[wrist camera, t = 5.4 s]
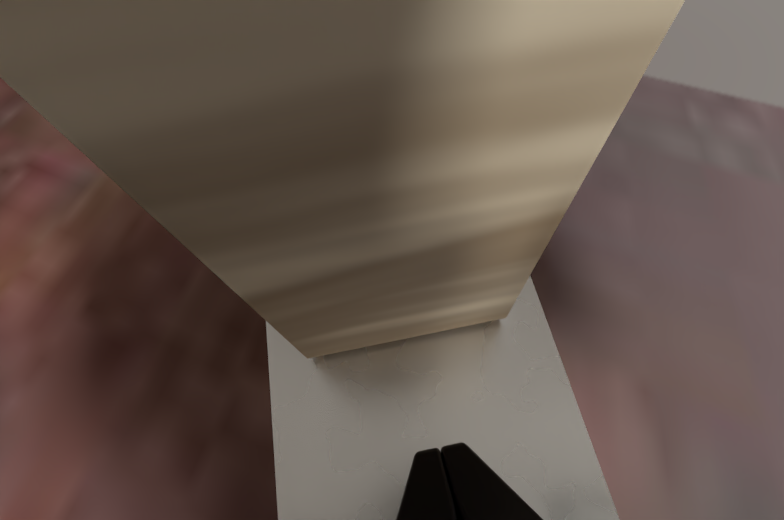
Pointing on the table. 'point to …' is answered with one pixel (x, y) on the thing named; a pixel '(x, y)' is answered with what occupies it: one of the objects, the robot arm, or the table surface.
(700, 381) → the table surface
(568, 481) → the bearing block
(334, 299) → the shaft carriage
